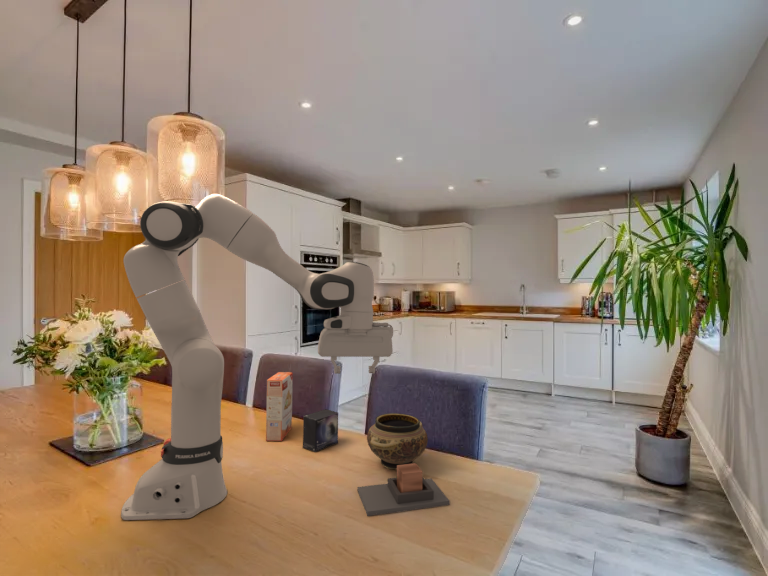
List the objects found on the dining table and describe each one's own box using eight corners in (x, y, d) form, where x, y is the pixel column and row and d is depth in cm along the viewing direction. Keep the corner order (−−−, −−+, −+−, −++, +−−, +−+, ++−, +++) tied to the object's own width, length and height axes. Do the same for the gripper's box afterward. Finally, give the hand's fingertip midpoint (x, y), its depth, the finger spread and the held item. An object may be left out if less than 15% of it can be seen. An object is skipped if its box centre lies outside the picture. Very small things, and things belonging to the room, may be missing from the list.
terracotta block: (396, 489, 103) (396, 465, 103) (415, 486, 104) (415, 463, 104) (402, 498, 98) (402, 473, 98) (422, 496, 99) (422, 471, 99)
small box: (315, 453, 128) (316, 419, 128) (301, 448, 132) (301, 415, 132) (339, 443, 137) (339, 411, 137) (325, 439, 141) (325, 408, 141)
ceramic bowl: (393, 495, 107) (405, 443, 105) (342, 463, 117) (353, 414, 115) (435, 463, 127) (446, 418, 126) (389, 438, 137) (399, 396, 135)
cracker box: (283, 441, 138) (283, 379, 138) (265, 441, 138) (265, 379, 138) (293, 428, 152) (293, 371, 152) (277, 427, 152) (277, 371, 152)
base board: (367, 516, 92) (367, 502, 92) (357, 490, 104) (357, 479, 104) (449, 504, 97) (449, 492, 97) (431, 482, 109) (431, 470, 109)
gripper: (390, 322, 117) (388, 370, 117) (318, 320, 112) (316, 371, 112) (396, 323, 111) (394, 374, 110) (320, 322, 106) (318, 375, 106)
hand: (354, 373), depth 111 cm, fingers open, 8 cm apart
